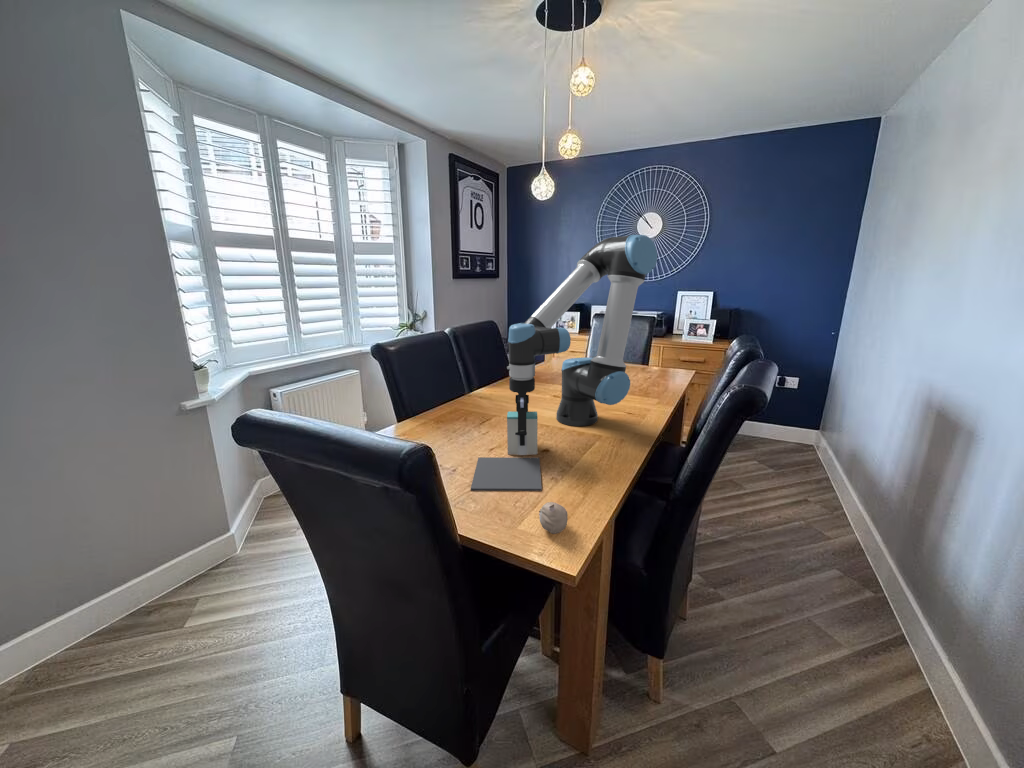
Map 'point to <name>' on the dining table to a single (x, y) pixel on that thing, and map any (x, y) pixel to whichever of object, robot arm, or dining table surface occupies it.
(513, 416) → the grey teal block
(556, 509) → the garlic bulb
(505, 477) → the rubber mat
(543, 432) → the dining table surface
